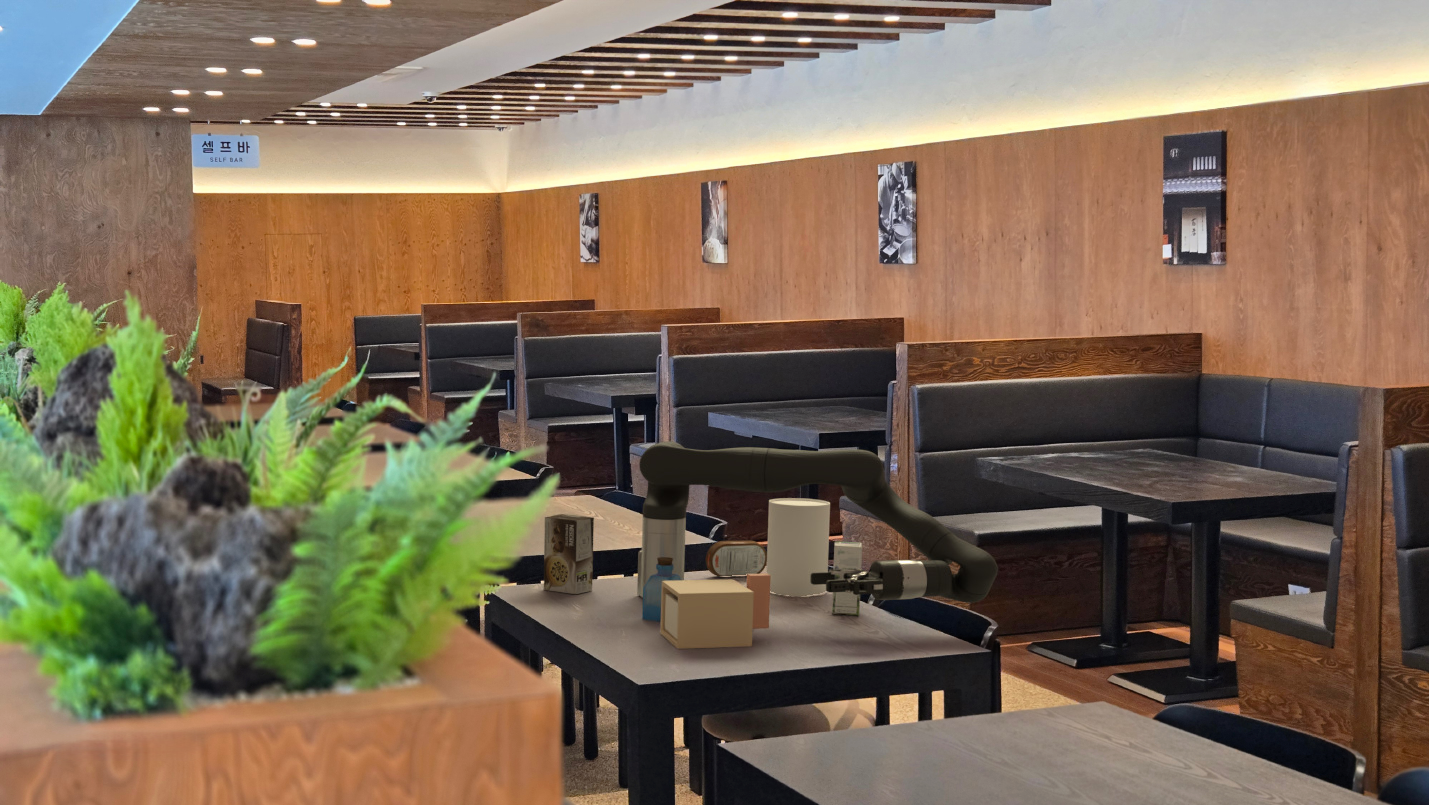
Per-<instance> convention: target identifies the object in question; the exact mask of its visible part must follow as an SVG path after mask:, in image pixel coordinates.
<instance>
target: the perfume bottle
mask: <svg viewBox="0 0 1429 805" xmlns="http://www.w3.org/2000/svg"><path fill="white" fill-rule="evenodd" d="M657 560H658V564H656V569H657V570H658V573H657V574H654V575H651V576H650V578H649V580H648V581H647V583H646V584H645V586H644V588H643V598H642V611H641V612H642V617H641V618H642V620H647V621H653V622H654V621H655V622H660V623H661V595H662V581H676V580H681V579H680V577H679V575H677V574H672V570H673V567H674V565H673V564H672V561H673V558H670V557H659V558H657Z"/></svg>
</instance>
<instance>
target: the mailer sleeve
mask: <svg viewBox="0 0 1429 805" xmlns="http://www.w3.org/2000/svg"><path fill="white" fill-rule="evenodd" d="M666 594H674V595H676V596H677V597H678V617H677V639H676V638H675V637H673V636H672V635H671V634H670V633H669V632H668V631H667V630H665V600H666ZM753 597H754V592H753V591H751V590H750V589H748V588H747V586H744V585H743V584H741V583H740V582H738V581H737V580H735V579H731V578H729V579H728V578H727V579H693V580H692V579H691V580H689V579H687V580H685V579H684V580H676V581H662V595H661V622H660V632H659V633H660V635H662V636H663V637H664V638H665V640H668V642H669V643H670V644H671V645H673V646H674V647H675V648H676V649H677V650H679V649H680V650H681V649H682V650H683V649H685V650H686V649H710V648H714V649H715V648H740V647H753V629H752V628H753Z"/></svg>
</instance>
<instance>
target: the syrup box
mask: <svg viewBox="0 0 1429 805" xmlns="http://www.w3.org/2000/svg"><path fill="white" fill-rule="evenodd" d="M862 544H863V542H851V541H834V547H833V548H834V549H833V552H834V554H833V569H854V568H856V569H862V561H863V560H862V558H863V545H862ZM835 579H840V575H835ZM831 596H832V597H831V599H832V601H831V614H832V615H841V614H846V615H845V616H859V615H860V610H861V608H860V605H861V604H860V603H861V594H858V595H855V594H853V593H847V592H832V595H831Z"/></svg>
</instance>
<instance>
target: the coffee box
mask: <svg viewBox="0 0 1429 805" xmlns="http://www.w3.org/2000/svg"><path fill="white" fill-rule="evenodd" d="M594 520H595V517H591V516H583V515H574V514H563V513H562V514H554V515H550V516H545V517H544V536H543V537H544V538H543V540H544V542H543V543H544V550H543V552H544V555H543V558H544V560H543V562H544V563H543V590H544V591H550V592H558V593H564V594H571V595H578V594H582V593H584V594H585V593H588V592H592V591H593V575H594V574H593V572H594V570H593V568H594V567H593V566H594V565H593V564H594V562H593V560H594V528H595V527H594V524H595V523H594V522H595V521H594Z"/></svg>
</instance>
